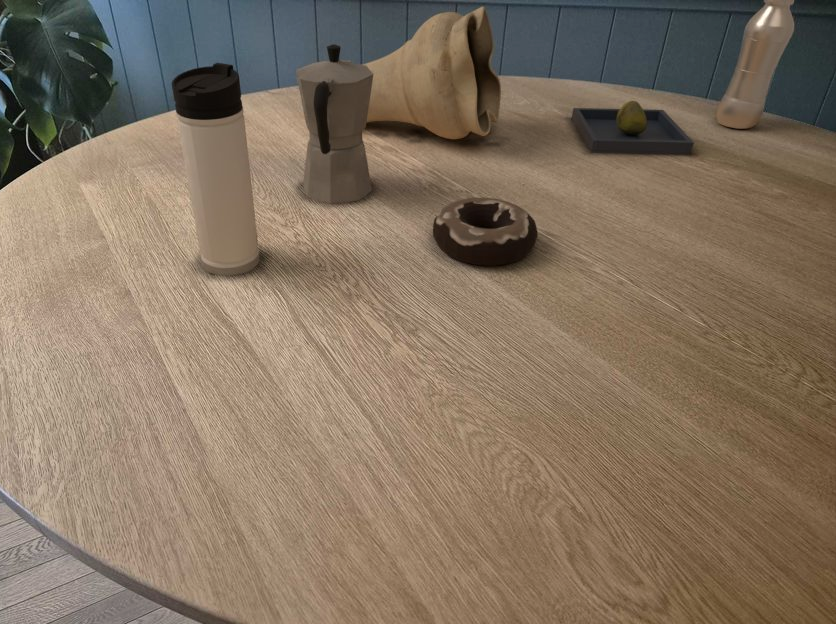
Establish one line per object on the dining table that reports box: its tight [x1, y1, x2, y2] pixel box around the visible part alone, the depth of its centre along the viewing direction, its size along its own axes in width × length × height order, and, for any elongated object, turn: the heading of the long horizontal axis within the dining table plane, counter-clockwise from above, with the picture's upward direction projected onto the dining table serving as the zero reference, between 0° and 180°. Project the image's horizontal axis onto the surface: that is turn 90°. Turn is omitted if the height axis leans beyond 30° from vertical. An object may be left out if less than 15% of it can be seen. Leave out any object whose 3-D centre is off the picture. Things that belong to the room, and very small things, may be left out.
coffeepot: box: [295, 43, 374, 205], centre depth 81 cm, size 15×9×18 cm, turn 171°
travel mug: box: [171, 62, 261, 277], centre depth 66 cm, size 6×7×20 cm
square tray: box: [570, 107, 695, 156], centre depth 103 cm, size 15×15×2 cm
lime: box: [617, 100, 647, 135], centre depth 101 cm, size 4×5×5 cm
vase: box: [362, 6, 502, 140], centre depth 101 cm, size 22×22×28 cm
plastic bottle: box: [715, 0, 795, 130], centre depth 101 cm, size 6×7×20 cm
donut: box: [432, 197, 538, 267], centre depth 75 cm, size 12×12×4 cm
